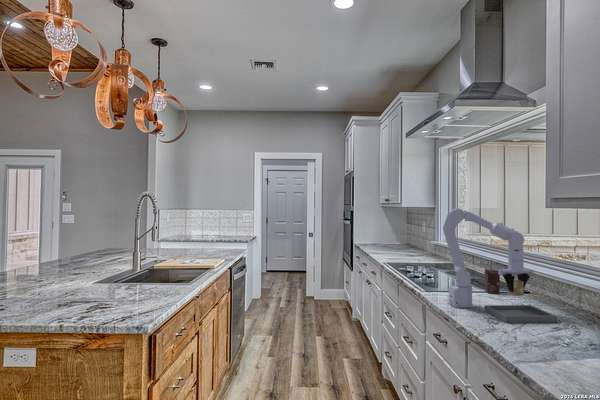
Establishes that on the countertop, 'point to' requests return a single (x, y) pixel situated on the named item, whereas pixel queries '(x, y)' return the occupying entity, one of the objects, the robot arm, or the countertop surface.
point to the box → (492, 281)
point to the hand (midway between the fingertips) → (516, 291)
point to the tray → (520, 314)
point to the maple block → (517, 288)
